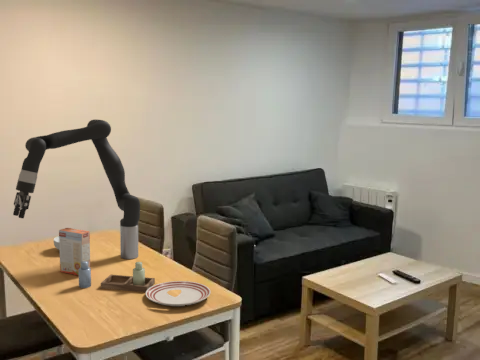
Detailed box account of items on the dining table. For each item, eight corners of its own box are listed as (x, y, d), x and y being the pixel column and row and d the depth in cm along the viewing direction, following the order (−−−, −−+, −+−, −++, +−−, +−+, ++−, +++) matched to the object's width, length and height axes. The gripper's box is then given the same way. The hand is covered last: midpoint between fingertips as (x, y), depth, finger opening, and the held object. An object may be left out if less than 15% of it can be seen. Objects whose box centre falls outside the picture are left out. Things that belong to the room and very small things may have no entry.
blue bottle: (82, 283, 229) (81, 260, 228) (93, 284, 229) (92, 260, 227) (76, 287, 224) (76, 263, 222) (87, 288, 223) (87, 264, 222)
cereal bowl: (63, 244, 286) (62, 232, 285) (91, 246, 284) (91, 234, 283) (47, 254, 270) (47, 241, 268) (77, 256, 267) (77, 243, 266)
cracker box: (91, 273, 243) (90, 230, 239) (82, 277, 237) (81, 233, 234) (68, 268, 248) (67, 226, 245) (59, 272, 243) (58, 229, 240)
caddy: (110, 280, 233) (110, 274, 233) (154, 284, 230) (154, 278, 230) (100, 289, 223) (100, 283, 222) (146, 293, 220) (146, 287, 219)
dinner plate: (139, 290, 223) (139, 283, 223) (198, 283, 234) (198, 276, 233) (154, 316, 198) (154, 308, 198) (219, 306, 209) (220, 298, 209)
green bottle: (135, 284, 229) (135, 260, 227) (146, 285, 228) (146, 261, 226) (131, 288, 224) (131, 264, 222) (142, 289, 223) (142, 265, 221)
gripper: (40, 184, 224) (31, 220, 223) (30, 181, 235) (22, 216, 234) (23, 180, 219) (13, 217, 218) (14, 178, 230) (5, 213, 229)
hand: (18, 216), depth 226 cm, fingers open, 8 cm apart
